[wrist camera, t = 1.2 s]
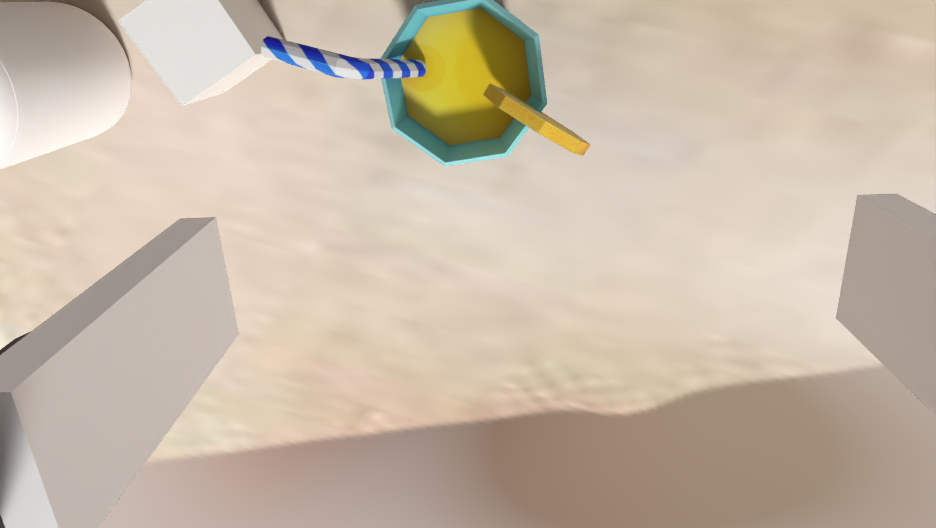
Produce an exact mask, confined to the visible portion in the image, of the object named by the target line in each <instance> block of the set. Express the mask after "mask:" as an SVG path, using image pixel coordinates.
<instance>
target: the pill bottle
mask: <svg viewBox="0 0 936 528" xmlns="http://www.w3.org/2000/svg"><path fill="white" fill-rule="evenodd" d="M131 90H132V77H131V70H130V66H129V62H128V59H127V57H126V54H125V52H124V50H123V48H122V46H121V45H120V43H119V41H118V40H117V38H116V37H115V36H114V34H113V33H112V32H111V31H110V30H109V29H108V28H107V27H106V26H105V25H104V24H103V23H102V22H101V21H100V20H98V19H97V18H96V17H94V16H93V15H91V14H90V13H88V12H86V11H84V10H82V9H80V8H77V7H75V6H72V5H68V4H64V3H58V2H50V1H33V2H0V169H3V168H6V167H9V166H12V165H14V164H17V163H20V162H23V161H26V160H29V159H32V158H34V157H37V156H40V155H43V154H46V153H49V152H52V151H54V150H57V149H60V148H63V147H66V146H69V145H71V144H74V143H77V142H80V141H83V140H86V139H89V138H91V137H94V136H97V135H99V134H101V133H103V132H104V131H106V130H108V129H109V128H111V127H112V126H113V125H114V124H115V123H116V122H117V121H118V120H119V119H120V118H121V117H122V115H123V114H124V112H125V110H126V108H127V106H128V103H129V100H130V96H131Z"/></svg>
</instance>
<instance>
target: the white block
mask: <svg viewBox="0 0 936 528" xmlns="http://www.w3.org/2000/svg"><path fill="white" fill-rule="evenodd" d="M119 23H120V24H121V25H122V27H123V28H124V30H125V31H126V32H127V34H128V35H129V36H130V38H131V39H132V40H133V42H134V43H135V44H136V46H137V47H138V48H139V50H140V51H141V52H142V54H143V55H144V57H145V58H146V59H147V61H148V62H149V63H150V65H151V66H152V67H153V69H154V70H155V71H156V73H157V74H158V75H159V77H160V78H161V79H162V81H163V82H164V84H165V85H166V86H167V88H168V89H169V90H170V92H171V93H172V94H173V96H174V97H175V98H176V100H177V101H178V102H179V104H180V105H181V106H185V105H188V104H191V103H194V102H197V101H200V100H203V99H206V98H210V97H213V96H216V95H219V94H222V93H224V92H226V91H227V90H229V89H230V88H232V87H233V86H235V85H236V84H237V83H239V82H240V81H242V80H243V79H245V78H246V77H248V76H249V75H250V74H252V73H253V72H255V71H256V70H258V69H259V68H261V67H262V66H263V65H265V64H266V63H268V62H269V61H271V60H272V59H270V58H267V57H265V56H263V55H262V53H261V44H262V42H263V39H264V38H266V37H267V36H270V37H274V38H278V39H282V40H284V39H283V38H282V36H281V35H280V33H279V32H278V30H277V29H276V27H275V26H274V24H273V23H272V21H271V20H270V18H269V17H268V15H267V14H266V12H265V11H264V9H263V8H262V6H261V5H260V3H259V2H258V0H145V1H144V2H142V3H141V4H140V5H138V6H137V7H136V8H134V9H133V10H132V11H130V12H129V13H128V14H126V15H125V16H124V17H123V18H121V19H120V20H119Z"/></svg>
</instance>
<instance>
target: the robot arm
mask: <svg viewBox="0 0 936 528" xmlns="http://www.w3.org/2000/svg"><path fill="white" fill-rule="evenodd" d="M836 319H837V320H838V321H840V322H841V323H842V324H843V325H844V326H845V327H846V328H847V329H848V330H849V331H850V332H851V333H852V334H853V335H854V336H855V337H856V338H857V339H858V340H859V341H860V342H861V343H862V344H863V345H864V346H865V347H866V348H867V349H868V350H869V351H870V352H871V353H872V354H873V355H874V356H875V357H876V358H877V359H878V360H879V361H880V362H881V363H882V364H883V365H884V366H885V367H886V368H887V369H888V370H890V372H891V373H892V374H894V376H896V377H897V378H898V379H899V380H900V381H901V382H902V383H903V384H904V385H905V386H906V387H907V388H908V389H909V390H910V391H911V392H912V393H913V394H914V395H915V396H916V397H917V398H918V399H919V400H920V401H921V402H922V403H923V404H924V405H925V406H926V407H927V408H928V409H929V410H930V411H931V412H932V413H933V414H934V415H935V416H936V214H934V213H932V212H930V211H929V210H927V209H925V208H923V207H921V206H919V205H917V204H915V203H913V202H911V201H910V200H908V199H906V198H904V197H902V196H900V195H898V194H873V195H857V200H856V206H855V212H854V217H853V223H852V229H851V235H850V240H849V246H848V252H847V257H846V263H845V269H844V275H843V280H842V286H841V292H840V298H839V303H838V309H837V315H836ZM238 334H239V333H238V328H237V323H236V317H235V312H234V307H233V302H232V297H231V292H230V287H229V282H228V277H227V271H226V266H225V261H224V256H223V251H222V246H221V241H220V236H219V231H218V226H217V220H216V217H210V218H181V219H179V220H178V221H176V222H175V223H174V224H172V225H171V226H170V227H168V228H167V229H166V230H164V231H163V232H162V233H161V234H159V235H158V236H157V237H155V238H154V239H153V240H151V241H150V242H149V243H147V244H146V245H145V246H143V247H142V248H141V249H139V250H138V251H137V252H135V253H134V254H133V255H132V256H130V257H129V258H128V259H126V260H125V261H124V262H122V263H121V264H120V265H118V266H117V267H116V268H114V269H113V270H112V271H110V272H109V273H108V274H106V275H105V276H104V277H103V278H101V279H100V280H99V281H97V282H96V283H95V284H93V285H92V286H91V287H89V288H88V289H87V290H85V291H84V292H83V293H81V294H80V295H79V296H78V297H76V298H75V299H74V300H72V301H71V302H70V303H68V304H67V305H66V306H64V307H63V308H62V309H60V310H59V311H58V312H56V313H55V314H54V315H52V316H51V317H50V318H49V319H47V320H46V321H45V322H43V323H42V324H41V325H39V326H38V327H37V328H35V329H34V330H33V331H31V332H29V333H27V334H25V335H22V336H20V337H18V338H16V339H14V340H13V341H12V342H10V343H9V344H8V345H6V346H5V347H4V348H2V349H1V350H0V528H99V527H100V525H101V524H102V522H103V521H104V520H105V518H106V517H107V515H108V514H109V513H110V511H111V510H112V509H113V507H114V506H115V504H116V503H117V502H118V500H119V499H120V497H121V496H122V495H123V493H124V492H125V490H126V489H127V488H128V486H129V485H130V483H131V482H132V481H133V479H134V478H135V477H136V475H137V474H138V472H139V471H140V470H141V468H142V467H143V466H144V464H145V463H146V461H147V460H148V459H149V457H150V456H151V454H152V453H153V452H154V450H155V449H156V448H157V446H158V445H159V443H160V442H161V441H162V439H163V438H164V436H165V435H166V434H167V432H168V431H169V430H170V428H171V427H172V425H173V424H174V423H175V421H176V420H177V418H178V417H179V416H180V414H181V413H182V411H183V410H184V409H185V407H186V406H187V405H188V403H189V402H190V400H191V399H192V398H193V396H194V395H195V393H196V392H197V391H198V389H199V388H200V387H201V385H202V384H203V382H204V381H205V380H206V378H207V377H208V375H209V374H210V373H211V371H212V370H213V369H214V367H215V366H216V364H217V363H218V362H219V360H220V359H221V357H222V356H223V355H224V353H225V352H226V351H227V349H228V348H229V346H230V345H231V344H232V342H233V341H234V339H235V338H236V337H237V335H238Z"/></svg>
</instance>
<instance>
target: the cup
mask: <svg viewBox="0 0 936 528" xmlns="http://www.w3.org/2000/svg"><path fill="white" fill-rule="evenodd" d="M261 53H262V55H263V56H265V57H267V58H270V59H274V60H277V61H281V62H284V63H288V64H291V65H295V66H298V67H302V68H305V69H309V70H312V71H316V72H319V73H323V74H327V75H330V76H334V77H338V78H351V79H382V84H383V89H384V94H385V99H386V104H387V108H388V113H389V118H390V123H391V128H392V129H393V130H394V131H395V132H397V133H398V134H400V135H401V136H403V137H404V138H405V139H407V140H408V141H410V142H411V143H412V144H414V145H415V146H417V147H418V148H419V149H421V150H422V151H424V152H425V153H427V154H428V155H429V156H431V157H432V158H434V159H435V160H436V161H438V162H439V163H441V164H442V165H444V166H450V165H456V164H462V163H469V162H475V161H482V160H488V159H494V158H501V157H507V156H508V155H509V154H510V153H511V151H512V150H513V149H514V147H515V146H516V145H517V143H518V142H519V141H520V139H521V138H522V137H523V135H524V134H525V132H526V131H527V130H528V128H531V129H532V130H534V131H535V132H537V133H539V134H540V135H542V136H544V137H546V138H547V139H549V140H551V141H553V142H555V143H556V144H558V145H560V146H562V147H563V148H565V149H567V150H569V151H571V152H572V153H574V154H579V155H584V154H585V152H586V150H587V149H588V147H589V146H590V144H589V143H587V142H586V141H585V140H583V139H582V138H581V137H579V136H578V135H576V134H575V133H574V132H572V131H571V130H569V129H568V128H566V127H565V126H563V125H561V124H560V123H558V122H557V121H555V120H554V119H552V118H550V117H549V116H547V115H546V114H544V113H543V112H541V111H542V110H543V108H544V107H545V106H546V104H547V98H546V90H545V82H544V74H543V66H542V58H541V50H540V42H539V35H538V34H537V33H536V32H534V31H533V30H532V29H530V28H529V27H528V26H526V25H525V24H524V23H523V22H521V21H520V20H519V19H517V18H516V17H515V16H513V15H512V14H511V13H510V12H508V11H507V10H506V9H504V8H503V7H502V6H500V5H499V4H498V3H497V2H495V1H494V0H437V1H432V2H426V3H421V4H415V6H414V7H413V9H412V10H411V12H410V13H409V15H408V17H407V18H406V20H405V21H404V23H403V24H402V26H401V28H400V29H399V31H398V32H397V34H396V35H395V37H394V38H393V40H392V42H391V43H390V45H389V46H388V48H387V49H386V51H385V53H384V54H383V56H382V57H381V59H361V58H354V57H349V56H345V55H341V54H337V53H333V52H329V51H325V50H322V49H318V48H314V47H310V46H306V45H302V44H298V43H294V42H290V41H286V40H282V39H278V38H274V37H270V36H267V37H266V38H264V39H263V42H262V44H261Z"/></svg>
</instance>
